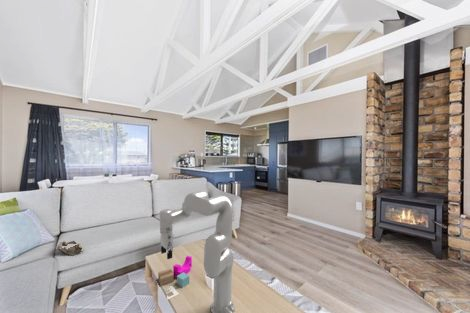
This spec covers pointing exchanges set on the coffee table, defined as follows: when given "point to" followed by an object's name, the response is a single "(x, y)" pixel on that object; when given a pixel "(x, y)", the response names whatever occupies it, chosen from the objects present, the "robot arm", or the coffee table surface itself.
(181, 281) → the teal cube
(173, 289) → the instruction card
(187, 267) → the magenta curved piece
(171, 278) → the base brick
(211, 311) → the robot arm
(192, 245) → the coffee table surface
